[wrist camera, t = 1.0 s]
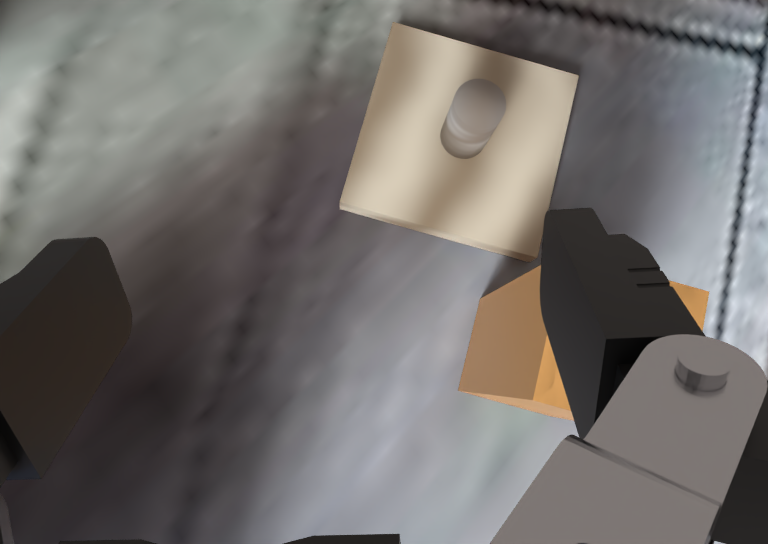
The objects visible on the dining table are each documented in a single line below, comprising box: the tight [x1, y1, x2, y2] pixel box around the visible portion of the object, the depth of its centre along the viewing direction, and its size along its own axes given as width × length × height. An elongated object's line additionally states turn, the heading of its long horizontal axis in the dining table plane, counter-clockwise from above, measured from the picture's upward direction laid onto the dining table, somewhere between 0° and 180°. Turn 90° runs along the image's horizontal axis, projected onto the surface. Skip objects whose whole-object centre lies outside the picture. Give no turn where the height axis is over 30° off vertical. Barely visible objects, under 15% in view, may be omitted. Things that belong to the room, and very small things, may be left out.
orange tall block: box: [458, 265, 709, 421], centre depth 29 cm, size 6×6×14 cm
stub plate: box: [340, 22, 579, 262], centre depth 35 cm, size 12×12×6 cm
